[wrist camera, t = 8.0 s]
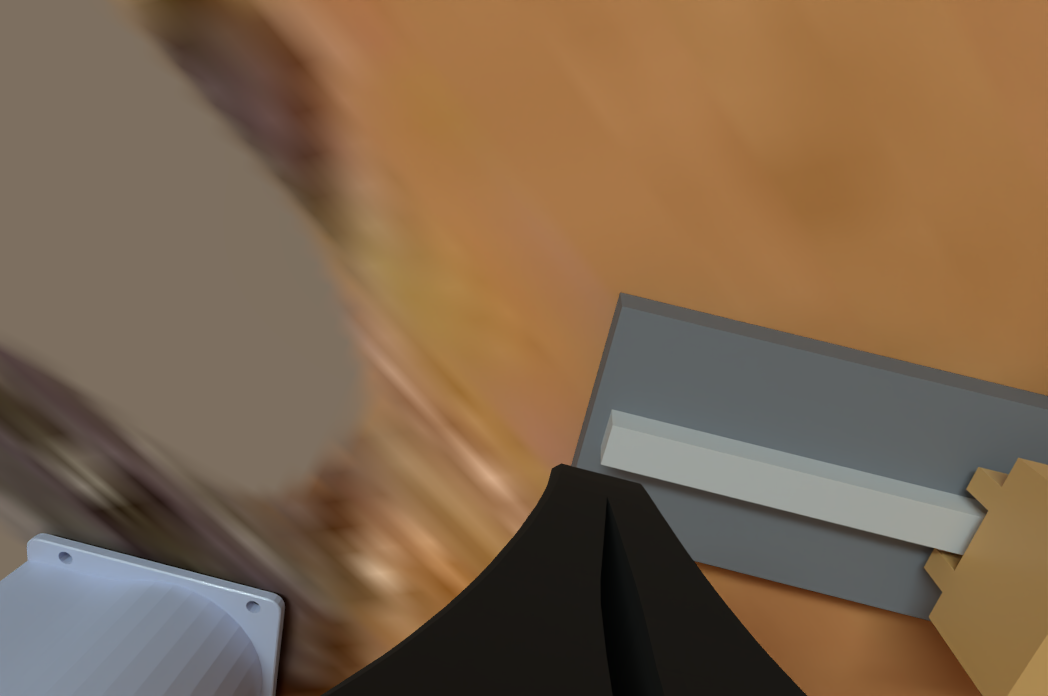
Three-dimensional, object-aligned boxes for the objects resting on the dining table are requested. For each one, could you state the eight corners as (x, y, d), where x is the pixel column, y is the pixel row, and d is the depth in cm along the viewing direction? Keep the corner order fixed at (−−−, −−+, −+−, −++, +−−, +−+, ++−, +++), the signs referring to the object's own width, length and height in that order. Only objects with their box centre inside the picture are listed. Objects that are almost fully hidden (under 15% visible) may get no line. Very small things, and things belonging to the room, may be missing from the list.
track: (561, 499, 20) (551, 610, 15) (620, 292, 18) (628, 349, 13) (1058, 624, 20) (1203, 779, 15) (1186, 429, 17) (1407, 541, 13)
